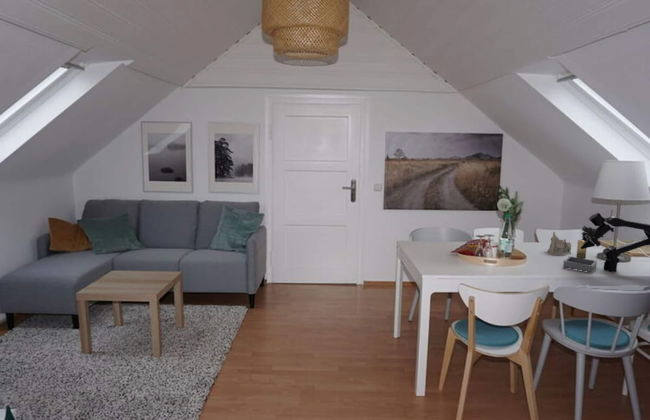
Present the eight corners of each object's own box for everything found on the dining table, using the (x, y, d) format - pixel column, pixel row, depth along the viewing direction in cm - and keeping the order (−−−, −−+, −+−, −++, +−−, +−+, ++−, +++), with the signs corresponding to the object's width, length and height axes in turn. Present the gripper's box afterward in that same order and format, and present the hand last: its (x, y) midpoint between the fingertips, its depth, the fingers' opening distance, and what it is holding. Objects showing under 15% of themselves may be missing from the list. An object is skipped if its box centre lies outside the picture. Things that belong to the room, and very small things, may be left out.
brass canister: (586, 257, 297) (588, 240, 295) (584, 259, 293) (586, 242, 291) (577, 256, 300) (578, 239, 298) (575, 257, 296) (577, 240, 294)
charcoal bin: (596, 267, 299) (596, 260, 298) (591, 273, 287) (592, 266, 286) (568, 262, 309) (569, 256, 308) (563, 267, 297) (563, 261, 296)
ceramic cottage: (550, 254, 328) (553, 233, 326) (545, 249, 344) (549, 230, 342) (574, 258, 324) (578, 237, 322) (568, 253, 340) (572, 233, 338)
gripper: (586, 219, 301) (566, 235, 305) (596, 224, 283) (575, 241, 287) (598, 231, 301) (578, 247, 305) (609, 238, 283) (587, 254, 287)
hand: (579, 247), depth 296 cm, fingers closed on brass canister, 5 cm apart
